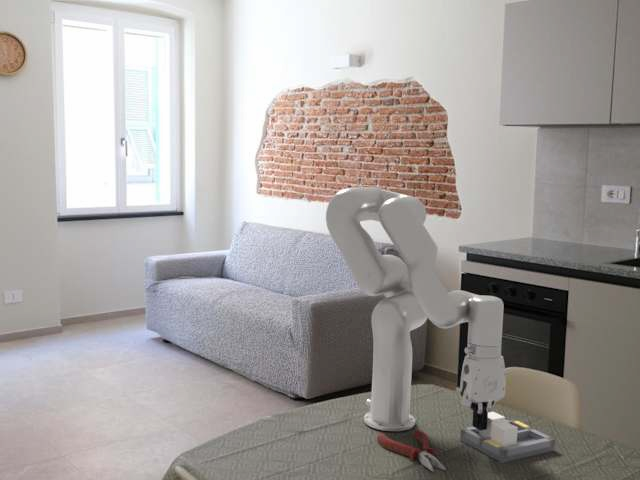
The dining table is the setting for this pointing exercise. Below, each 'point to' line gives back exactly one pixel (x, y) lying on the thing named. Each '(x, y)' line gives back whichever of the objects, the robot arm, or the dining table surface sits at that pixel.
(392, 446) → the pliers
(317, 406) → the dining table surface
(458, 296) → the robot arm
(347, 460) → the dining table surface
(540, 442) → the switch bank
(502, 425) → the tab
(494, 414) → the tab
